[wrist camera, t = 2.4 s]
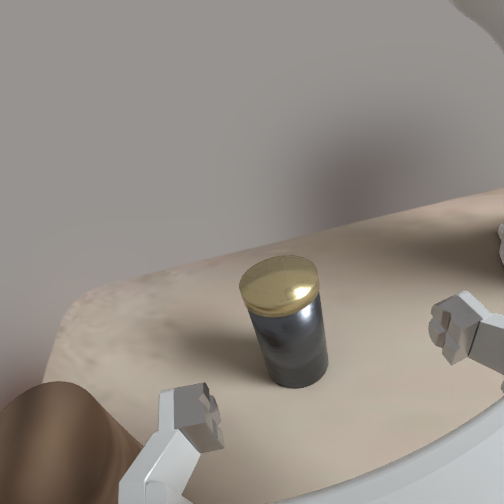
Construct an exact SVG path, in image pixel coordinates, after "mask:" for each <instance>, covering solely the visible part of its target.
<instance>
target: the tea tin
mask: <svg viewBox="0 0 504 504" xmlns="http://www.w3.org/2000/svg"><path fill="white" fill-rule="evenodd" d="M239 288H240V292H241V295H242V298H243V301H244V304H245V306H246V307H247V309H248V312H249V315H250V318H251V321H252V323H253V326H254V329H255V332H256V335H257V338H258V341H259V344H260V347H261V350H262V353H263V356H264V359H265V362H266V365H267V367H268V370H269V373H270V376H271V378H272V379H273V380H274V381H275V382H276V383H277V384H279V385H281V386H283V387H286V388H294V389H295V388H303V387H307V386H310V385H312V384H314V383H315V382H317V381H318V380H319V379H320V378H321V377H322V376H323V375H324V374H325V372H326V370H327V367H328V354H327V346H326V338H325V331H324V323H323V316H322V309H321V302H320V295H319V279H318V273H317V268H316V267H315V265H314V264H313V263H312V262H311V261H309V260H308V259H305V258H303V257H299V256H278V257H273V258H269V259H266V260H264V261H261V262H259V263H257V264H256V265H254V266H252V267H251V268H250V269H249V270H247V271H246V272H245V274H244V275H243V276H242V278H241V280H240V283H239Z"/></svg>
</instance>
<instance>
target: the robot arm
mask: <svg viewBox="0 0 504 504" xmlns="http://www.w3.org/2000/svg"><path fill="white" fill-rule="evenodd" d="M449 1H450V2H451V4H452V5H454V7H455V8H456V9H457V10H458V11H460V12H461V13H462V14H463V15H465V16H466V17H467V18H469V19H470V20H472V21H473V22H475V23H476V24H477V25H479V26H480V27H481V28H482V29H484V30H485V31H486V32H487V33H488V34H489V35H490V36H491V37H492V39H493V40H494V41H495V42H496V43H497V45H498V46H499V48H500V49H501V50H502V52H503V54H504V0H449ZM498 235H499V237H500V240H501V245H500V250H499V252H500V258H501V260H502V263H503V264H504V223H503V224H500V225H499V228H498ZM431 314H432V316H433V318H432V319H431V321H430V322H429V328H428V330H429V335H430V338H431V340H432V342H433V343H434V344H435V345H436V346H438V347H441V348H442V354H443V356H444V357H445V358H446V359H447V361H448V362H449V363H450V364H451V365H453V364H455V363H457V362H459V361H461V360H463V359H465V358H466V357H468V356H469V357H468V358H470V359H472V360H474V361H476V362H478V363H481V364H483V365H485V366H487V367H489V368H491V369H493V370H495V371H497V372H499V373H501V374H503V375H504V315H501V314H498V313H493V314H492V313H491V312H489V311H488V310H487V309H486V308H485V307H484V306H483V305H482V304H481V303H480V302H479V301H478V300H477V299H476V298H475V297H474V296H472V295H471V294H470V293H469V292H468V291H465V290H464V291H462V292H460V293H458V294H456V295H454V296H451V297H449V298H447V299H445V300H443V301H441V302H439V303H437V304H435V305H433V307H432V309H431ZM501 390H502V391H503V392H504V381H503V383H502V385H501ZM220 421H221V419H220V413H219V409H218V406H217V403H216V401H215V399H214V397H213V396H212V395H209V388H208V386H207V385H206V383H199V384H194V385H189V386H184V387H178V388H173V389H168V390H162V391H161V392H160V394H159V412H158V432H154V433H153V434H152V436H151V437H150V439H149V440H148V442H147V443H146V445H145V446H144V447H143V449H142V450H141V452H140V453H139V455H138V456H137V458H136V459H135V460H134V462H133V463H132V465H131V466H130V468H129V469H128V470H127V472H126V473H125V475H124V476H123V478H122V479H121V480H120V482H119V498H118V504H194V503H192V502H191V501H189V500H188V499H186V498H184V497H183V496H181V495H182V493H183V491H184V489H185V487H186V485H187V483H188V480H189V478H190V476H191V474H192V472H193V470H194V468H195V466H196V464H197V462H198V459H199V457H200V455H201V454H200V453H204V452H209V451H214V450H219V449H223V448H224V441H223V434H222V431H221V429H220V428H219V426H218V425H219V423H220ZM267 504H504V396H503V397H502V398H501V399H499V400H498V401H497V402H495V403H494V404H492V405H491V406H490V407H488V408H487V409H485V410H484V411H482V412H481V413H479V414H478V415H476V416H475V417H473V418H472V419H470V420H469V421H467V422H466V423H464V424H462V425H461V426H459V427H458V428H456V429H454V430H453V431H451V432H449V433H447V434H446V435H444V436H442V437H441V438H439V439H437V440H435V441H433V442H432V443H430V444H428V445H426V446H424V447H422V448H420V449H418V450H416V451H414V452H412V453H410V454H408V455H406V456H404V457H402V458H400V459H398V460H396V461H393V462H391V463H389V464H387V465H384V466H382V467H380V468H377V469H375V470H373V471H370V472H368V473H365V474H363V475H360V476H358V477H355V478H352V479H350V480H347V481H344V482H341V483H338V484H335V485H332V486H329V487H326V488H323V489H320V490H317V491H314V492H310V493H307V494H303V495H300V496H296V497H292V498H288V499H284V500H280V501H276V502H272V503H267Z"/></svg>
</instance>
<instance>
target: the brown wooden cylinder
mask: <svg viewBox="0 0 504 504" xmlns="http://www.w3.org/2000/svg"><path fill="white" fill-rule="evenodd" d="M143 447H144V446H142V445H141V444H140V443H139V442H138V441H137V440H136V439H135V438H134V437H133V436H131V435H130V434H129V433H128V432H127V431H126V430H125V429H124V428H123V427H122V426H121V425H120V424H119V423H118V422H117V421H116V420H115V419H114V418H113V417H112V416H111V415H110V414H109V413H108V412H107V411H106V410H105V409H104V408H103V407H102V406H101V405H100V404H99V403H98V402H97V401H96V400H95V398H94V397H93V396H92V395H91V394H90V393H89V392H87V391H86V390H85V389H84V388H82V387H80V386H78V385H76V384H73V383H69V382H60V381H57V382H49V383H44V384H41V385H38V386H36V387H33V388H31V389H29V390H27V391H26V392H24V393H22V394H21V395H19V396H18V397H16V398H15V399H14V400H13V401H12V402H10V403H9V404H8V405H7V406H6V408H4V409H3V411H2V412H1V413H0V504H118V498H119V482H120V480H121V479H122V478H123V476H124V475H125V473H126V472H127V470H128V469H129V468H130V466H131V465H132V463H133V462H134V460H135V459H136V458H137V456H138V455H139V453H140V452H141V450H142V449H143Z"/></svg>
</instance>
